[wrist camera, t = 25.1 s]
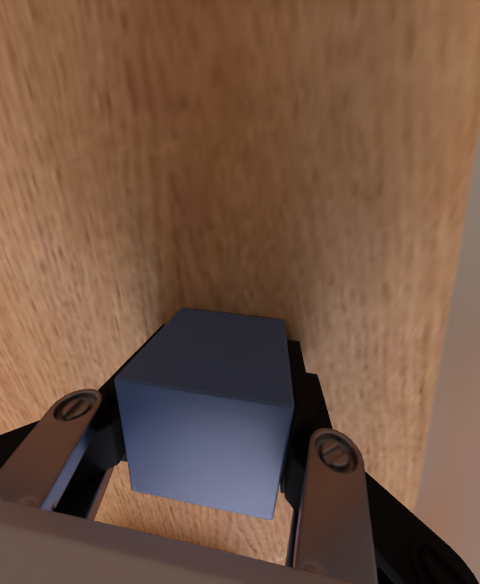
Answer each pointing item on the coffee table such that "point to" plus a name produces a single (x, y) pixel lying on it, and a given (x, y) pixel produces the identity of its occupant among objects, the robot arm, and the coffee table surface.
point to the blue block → (209, 411)
